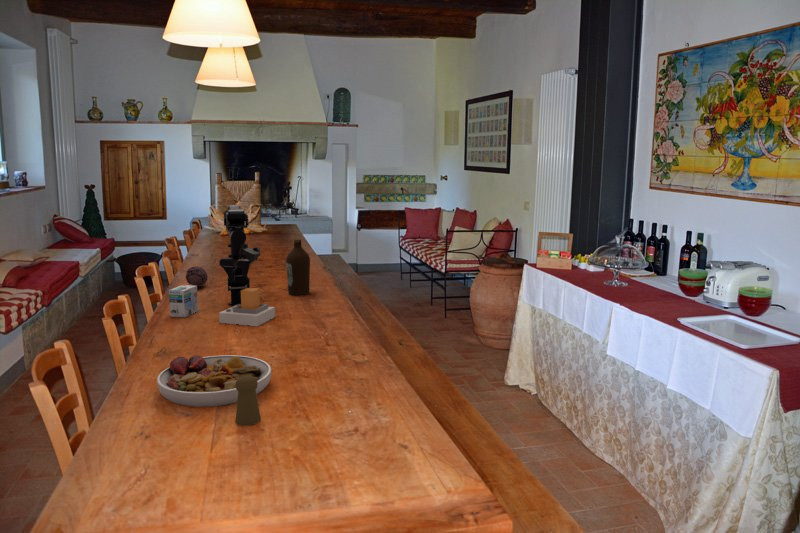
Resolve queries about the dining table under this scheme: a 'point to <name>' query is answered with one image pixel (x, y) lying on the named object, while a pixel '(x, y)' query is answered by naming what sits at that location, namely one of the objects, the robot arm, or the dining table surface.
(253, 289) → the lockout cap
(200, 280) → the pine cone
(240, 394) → the salt shaker
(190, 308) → the light bulb box
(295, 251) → the olive oil
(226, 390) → the bowl
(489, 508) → the dining table surface
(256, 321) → the white recessed base box
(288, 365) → the dining table surface
